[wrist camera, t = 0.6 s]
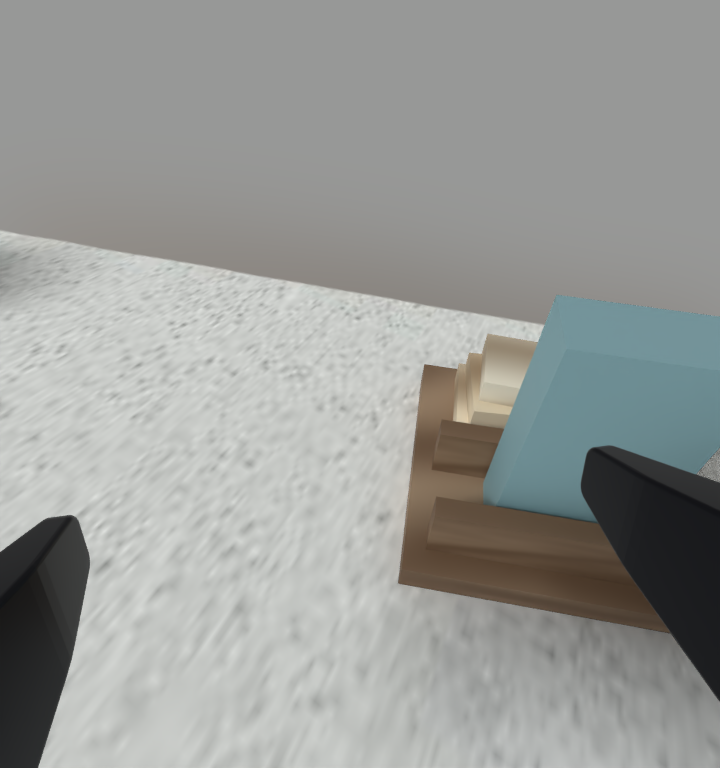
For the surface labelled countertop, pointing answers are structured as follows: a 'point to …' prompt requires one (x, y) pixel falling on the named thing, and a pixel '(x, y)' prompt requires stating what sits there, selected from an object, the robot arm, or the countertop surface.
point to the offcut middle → (482, 410)
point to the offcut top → (504, 368)
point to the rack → (500, 530)
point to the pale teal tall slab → (607, 401)
